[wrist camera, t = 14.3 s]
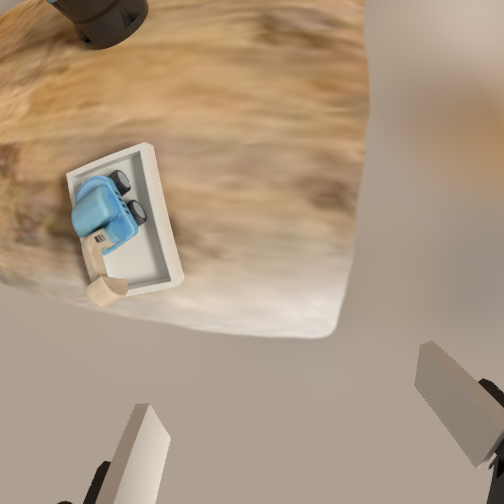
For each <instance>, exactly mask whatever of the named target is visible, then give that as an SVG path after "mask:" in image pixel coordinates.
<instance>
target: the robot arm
mask: <svg viewBox="0 0 504 504" xmlns="http://www.w3.org/2000/svg"><path fill="white" fill-rule="evenodd" d="M47 2H48V3H50V4H52V5H53V6H54V7H55V8H56V9H58V10H59V11H60V12H61V13H63V14H64V15H65V16H66V17H67V18H69V19H70V20H71V21H72V22H73V23H74V25H75V28H76V31H77V33H78V36H79V39H80V40H81V42H82V43H83V44H85V45H86V46H87V47H89V48H91V49H104V48H108V47H111V46H114V45H116V44H118V43H120V42H121V41H123V40H125V39H126V38H128V37H129V36H130V35H132V34H133V33H134V32H135V31H136V30H137V29H138V28H139V27H140V26H141V24H142V23H143V22H144V20H145V18H146V16H147V13H148V4H147V1H146V0H47ZM414 386H415V387H416V389H417V390H418V391H419V393H420V394H421V395H422V396H423V398H424V399H425V400H426V401H427V403H428V404H429V405H430V407H431V408H432V409H433V411H434V412H435V413H436V415H437V416H438V417H439V419H440V420H441V421H442V423H443V424H444V425H445V427H446V428H447V429H448V431H449V432H450V433H451V435H452V436H453V437H454V439H455V440H456V442H457V443H458V444H459V446H460V447H461V449H462V450H463V451H464V453H465V454H466V456H467V457H468V458H469V460H470V461H471V463H472V464H473V466H474V467H475V469H478V468H479V467H480V466H482V465H483V464H484V463H486V462H487V461H488V460H489V459H490V458H491V456H492V455H493V454H494V452H495V453H496V455H497V456H496V458H495V459H494V460H493V462H492V463H491V464H490V466H489V469H491V468H492V466H493V465H494V468H493V469H494V471H493V476H492V482H491V486H490V491H489V495H488V500H487V504H504V393H503V392H502V391H501V390H499V388H498V387H497V386H496V385H495V384H494V383H493V382H491V381H488V380H486V379H484V378H483V379H482V380H480V381H479V382H477V381H476V380H475V379H474V378H473V377H471V375H470V374H468V373H467V372H466V371H465V370H464V369H463V368H462V367H461V366H460V365H459V364H458V363H457V362H456V361H455V360H454V359H452V358H451V357H450V356H449V355H448V354H447V353H446V352H445V351H444V350H443V349H442V348H440V347H439V346H438V345H437V344H436V343H435V342H434V341H433V340H431V341H429V342H426V343H425V344H422V345H420V350H419V358H418V366H417V372H416V378H415V384H414ZM170 439H171V438H170V436H169V435H168V433H167V432H166V430H165V429H164V427H163V426H162V424H161V422H160V421H159V419H158V417H157V416H156V414H155V412H154V411H153V409H152V407H151V405H150V404H136V405H135V408H134V410H133V412H132V415H131V417H130V419H129V421H128V423H127V426H126V428H125V430H124V433H123V435H122V437H121V440H120V442H119V445H118V447H117V449H116V452H115V454H114V457H113V459H112V462H108V461H104V462H103V463H102V464H101V465H100V466H99V467H98V469H97V471H96V474H95V476H94V479H93V480H92V483H91V484H92V485H91V486H90V488H89V490H88V492H87V495H86V497H85V500H84V502H83V504H155V502H156V497H157V493H158V489H159V485H160V480H161V476H162V471H163V468H164V463H165V459H166V455H167V451H168V447H169V443H170ZM58 504H72V503H71V502H68V501H62V502H60V503H58Z"/></svg>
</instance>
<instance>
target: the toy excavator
mask: <svg viewBox="0 0 504 504" xmlns="http://www.w3.org/2000/svg"><path fill="white" fill-rule="evenodd" d="M130 190H131V186H130V184H129V180H128V178H127V177H126V175H125V174H124V173H123V172H122V171H121V170H115V171H114V172H112V173H111V174H110V175H109V176H103V175H98V176H93V177H91V178H89V179H87V180H86V181H85V182H84V183H83V184H82V185H81V186H80V188H79V190H78V192H77V194H76V198H75V204H76V205H75V206H74V208H73V210H72V213H71V219H72V224H73V227H74V229H75V231H76V233H77V235H78V236H79V237H85V236H88V235H89V236H88V237H87V238H86V239H85V240H84V241H83V243H82V254H83V257H84V261H85V264H86V268H87V271H88V274H89V277H90V281H91V283H90V284H89V285H88V286H86V287H85V292H86V294H87V296H88V297H89V299H90V300H91V301H92V302H93V303H95V304H96V305H98V306H100V307H107V306H109V305H111V304H113V303H114V302H116V301H118V300H119V299H121V298H122V297H124V296H125V295H126V294H127V292H128V283H127V280H126V279H125V278H123V279H117V278H111V277H108V274H107V270H106V267H105V263H104V259H103V255H107V254H109V253H110V252H112V251H114V250H115V249H116V248H118V247H119V246H121V245H122V244H123V243H125V242H126V241H128V240H129V239H130V238H132V237H133V236H135V235H136V234H137V233H138V231H139V228H138V227H139V226H140V225H142V224H143V223H145V222H146V220H147V216H146V213H145V211H144V210H143V208H142V207H141V205H140V204H139V203H138V202H137V201H136V200H133V199H132V200H130V201H129V202H128V203H127V204H125V202H124V200H123V199H122V196H123V195H125V194H126V193H127V192H129V191H130Z"/></svg>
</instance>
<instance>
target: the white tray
mask: <svg viewBox="0 0 504 504" xmlns="http://www.w3.org/2000/svg"><path fill="white" fill-rule="evenodd" d="M115 170H121V171H122V172H123V173H124V174H125V175H126V177H127V178H128V180H129V184H130V186H131V190H130V191H129V192H127V193H126V194H125V195H123V196H122V199H123V200H124V202H125V204H127V203H128V202H129V201H130V200H132V199H133V200H136V201H137V202H138V203H139V204H140V205H141V207H142V208H143V210H144V211H145V213H146V216H147V220H146V222H145V223H143V224H142V225H140V226H139V227H138V228H139V231H138V233H137V234H136V235H135V236H133V237H132V238H130V239H129V240H128V241H126V242H125V243H123V244H122V245H121V246H119V247H118V248H116V249H115V250H114V251H112V252H110V253H109V254H107V255H103V259H104V263H105V267H106V270H107V274H108V277H111V278H117V279H123V278H125V279H126V280H127V283H128V292H127V294H126V295H125V296H124V297H127V296H132V295H137V294H143V293H148V292H153V291H158V290H163V289H168V288H173V287H178V286H180V285H181V283H182V282H183V280H184V278H185V277H184V274H183V270H182V267H181V263H180V260H179V256H178V252H177V248H176V245H175V241H174V237H173V233H172V229H171V225H170V221H169V217H168V213H167V208H166V204H165V200H164V195H163V191H162V186H161V182H160V177H159V172H158V167H157V162H156V157H155V152H154V146H152V145H150V144H148V143H146V142H144V143H141V144H138V145H135V146H132V147H129V148H127V149H124V150H121V151H119V152H116V153H113V154H111V155H108V156H106V157H103V158H101V159H98V160H96V161H94V162H91V163H89V164H87V165H84V166H82V167H80V168H78V169H75V170H73V171H71V172H69V173H67V174H66V175H67V181H68V187H69V193H70V198H71V203H72V208H74V206H75V205H76V204H75V198H76V194H77V192H78V190H79V188H80V186H81V185H82V184H83V183H84V182H85V181H86V180H87V179H89V178H91V177H93V176H98V175H103V176H109V175H110V174H111V173H112V172H114V171H115ZM88 236H89V235H88ZM88 236H85V237H79V238H80V242H81V245H82V243H83V241H84V240H85V239H86V238H87V237H88Z"/></svg>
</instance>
